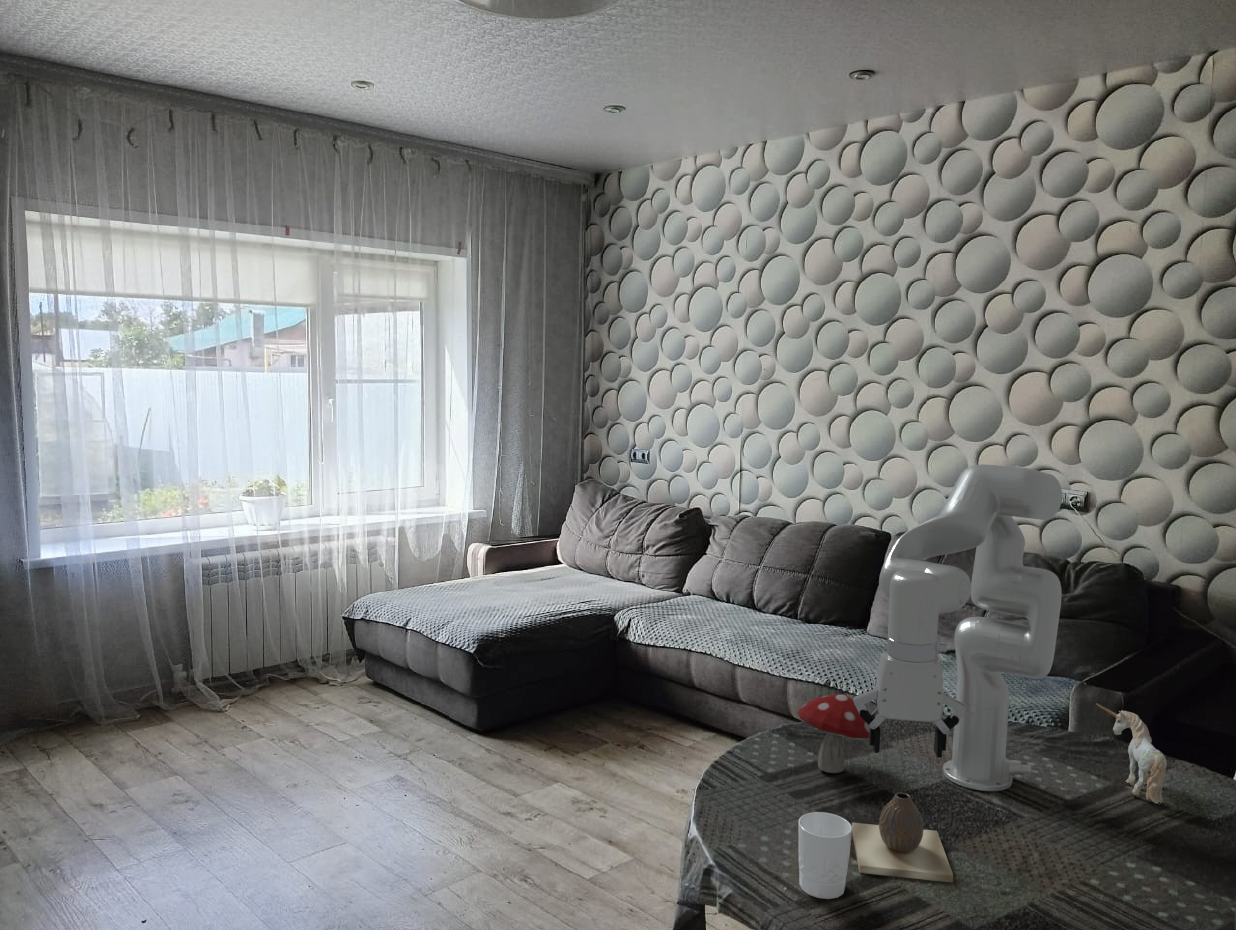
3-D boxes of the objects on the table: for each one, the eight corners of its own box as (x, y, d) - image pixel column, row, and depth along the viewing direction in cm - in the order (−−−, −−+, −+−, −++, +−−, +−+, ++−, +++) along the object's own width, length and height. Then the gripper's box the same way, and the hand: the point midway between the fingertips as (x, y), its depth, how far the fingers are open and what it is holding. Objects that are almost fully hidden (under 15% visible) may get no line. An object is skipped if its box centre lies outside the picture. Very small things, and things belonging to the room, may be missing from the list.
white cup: (789, 873, 144) (792, 812, 143) (838, 872, 145) (842, 811, 144) (803, 902, 137) (806, 838, 136) (856, 901, 137) (859, 837, 136)
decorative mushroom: (798, 748, 192) (801, 678, 191) (877, 758, 188) (881, 687, 186) (791, 780, 177) (794, 704, 175) (877, 792, 173) (881, 715, 171)
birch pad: (936, 837, 157) (937, 830, 156) (952, 882, 143) (953, 875, 143) (851, 829, 159) (851, 822, 159) (859, 872, 145) (859, 865, 145)
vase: (924, 860, 147) (928, 807, 146) (879, 855, 148) (882, 802, 147) (919, 839, 154) (922, 788, 153) (876, 834, 155) (879, 783, 154)
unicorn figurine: (1124, 767, 187) (1130, 703, 185) (1189, 813, 168) (1196, 742, 166) (1090, 767, 186) (1095, 703, 185) (1151, 814, 167) (1158, 742, 166)
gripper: (963, 645, 150) (958, 746, 152) (853, 638, 152) (849, 738, 154) (973, 660, 142) (967, 766, 144) (858, 653, 145) (853, 757, 147)
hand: (906, 751), depth 149 cm, fingers open, 9 cm apart
